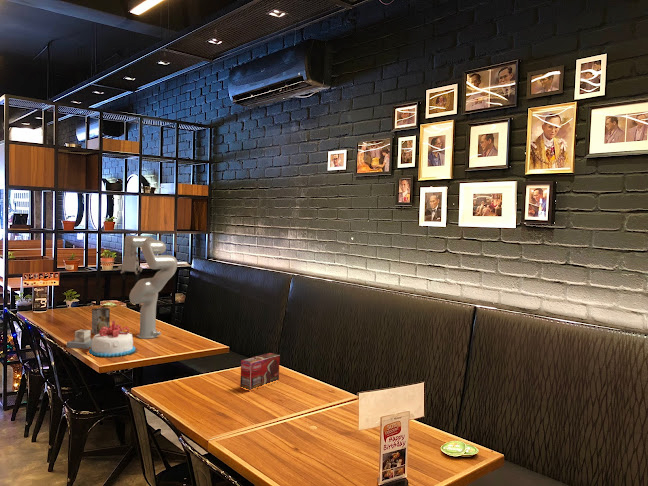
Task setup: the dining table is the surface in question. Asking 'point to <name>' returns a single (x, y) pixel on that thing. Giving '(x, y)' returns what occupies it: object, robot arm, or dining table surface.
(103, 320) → the coffee box
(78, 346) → the stand
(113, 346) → the wedding cake
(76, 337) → the cube
